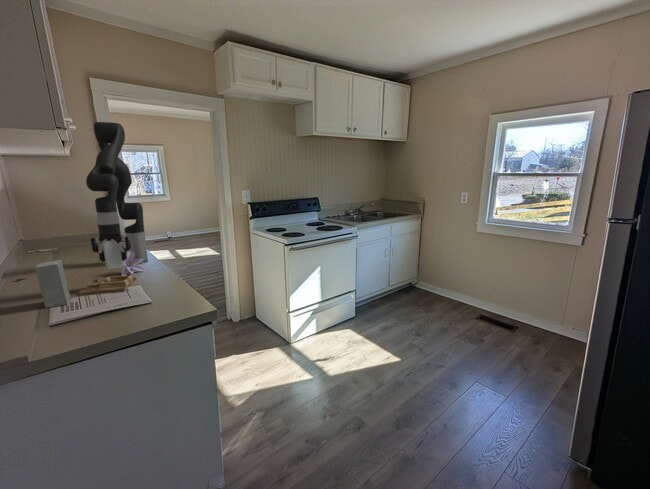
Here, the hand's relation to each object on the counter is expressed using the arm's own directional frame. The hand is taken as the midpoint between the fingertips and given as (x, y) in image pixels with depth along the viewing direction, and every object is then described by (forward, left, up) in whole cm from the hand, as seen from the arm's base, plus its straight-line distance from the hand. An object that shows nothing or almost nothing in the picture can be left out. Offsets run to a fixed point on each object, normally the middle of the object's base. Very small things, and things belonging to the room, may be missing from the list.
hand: (113, 260), depth 130 cm
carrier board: (0, -3, -12) cm, 12 cm away
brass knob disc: (0, -8, -10) cm, 13 cm away
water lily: (-20, -1, -12) cm, 23 cm away
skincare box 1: (+15, -15, -12) cm, 24 cm away
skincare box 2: (0, 0, -3) cm, 3 cm away
